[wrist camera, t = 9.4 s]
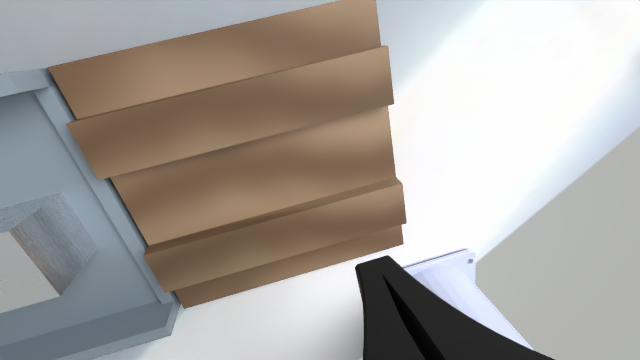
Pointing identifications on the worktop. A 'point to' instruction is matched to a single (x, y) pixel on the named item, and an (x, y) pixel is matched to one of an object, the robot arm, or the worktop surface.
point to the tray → (98, 219)
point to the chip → (40, 250)
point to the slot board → (247, 146)
